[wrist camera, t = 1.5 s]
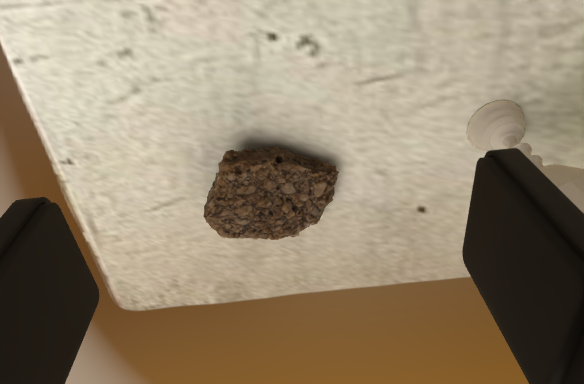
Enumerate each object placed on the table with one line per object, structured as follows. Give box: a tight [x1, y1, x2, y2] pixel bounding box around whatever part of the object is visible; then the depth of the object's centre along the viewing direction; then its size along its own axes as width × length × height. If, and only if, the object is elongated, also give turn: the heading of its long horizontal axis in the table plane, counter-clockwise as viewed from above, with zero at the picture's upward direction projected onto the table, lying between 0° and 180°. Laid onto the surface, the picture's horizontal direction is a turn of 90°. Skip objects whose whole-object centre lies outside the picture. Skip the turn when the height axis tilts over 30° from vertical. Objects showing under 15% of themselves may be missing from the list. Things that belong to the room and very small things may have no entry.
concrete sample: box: [204, 147, 339, 240], centre depth 40 cm, size 12×10×5 cm
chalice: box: [467, 100, 584, 213], centre depth 33 cm, size 7×7×18 cm
